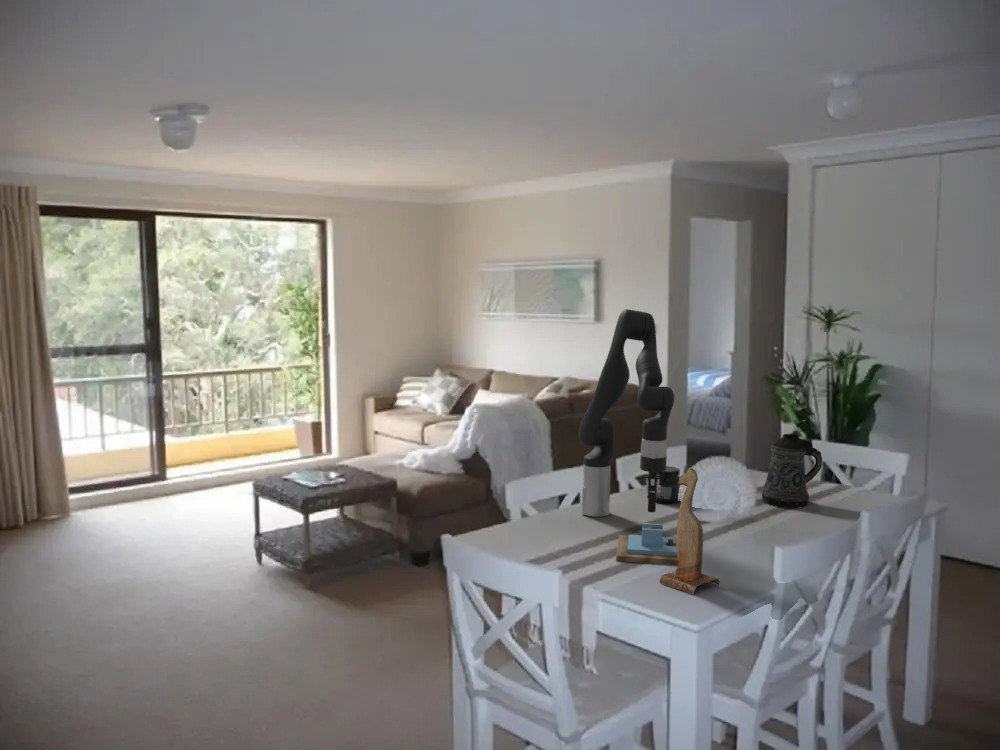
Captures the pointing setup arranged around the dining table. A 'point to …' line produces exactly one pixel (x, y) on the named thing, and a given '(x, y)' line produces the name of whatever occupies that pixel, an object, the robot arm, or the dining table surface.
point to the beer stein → (789, 472)
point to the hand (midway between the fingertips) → (651, 507)
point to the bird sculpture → (688, 543)
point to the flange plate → (651, 542)
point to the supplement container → (668, 486)
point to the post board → (643, 558)
